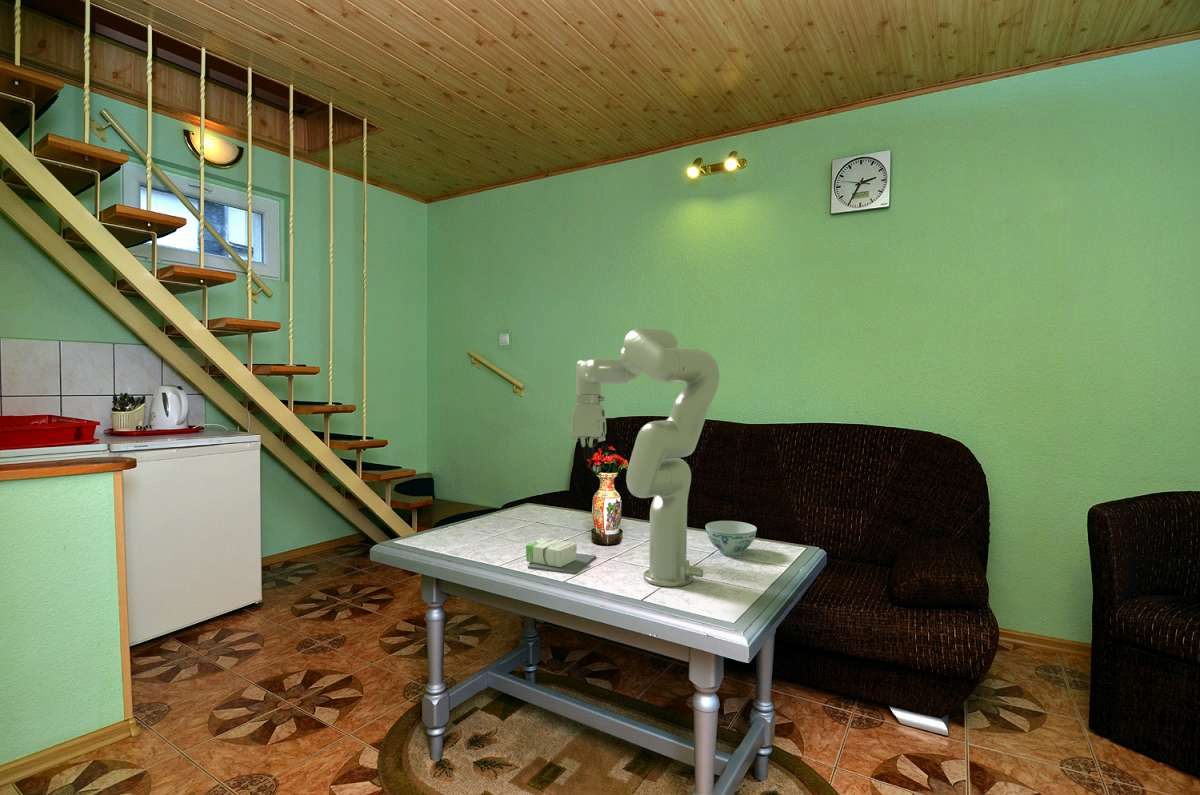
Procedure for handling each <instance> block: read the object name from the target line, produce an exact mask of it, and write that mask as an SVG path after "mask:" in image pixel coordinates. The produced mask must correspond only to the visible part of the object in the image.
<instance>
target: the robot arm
mask: <svg viewBox="0 0 1200 795" xmlns="http://www.w3.org/2000/svg"><path fill="white" fill-rule="evenodd" d="M643 373H645V374H646V375H647V376H649V377H650V378H651V379H652V380H653V381H656V382H659V383H665V384H669V383H670V384H679V383H680V384H683V383H686V386H685V387H684V388H683V389H682V390H681V392H679V394H678V395H677V397H676V398H675V400H674V402H673V406H672V408H671V411H670V414H669V416H668V418H666V419H665V420H664V419H663V420H653V421H649V422H647V423H646V424H645V425H643V426H642V427H641V428H640V430H639V431H638V433H637V436H636V439H635V442H634V446H633V449H632V451H631V456H630V459H629V462H628V467H627V471H626V475H625V477H626V478H625V482H626V486H627V489H628V491H629V492H630V493H631V495H632V496H634V497H637V498H640V499H647V498H653V499H652V501H651V504H650V509H649V569H646V570H645V571H644V572H643V579H644V580H645V581H646V582H647V583H649V584H652V585H655V586H660V587H669V588H670V587H671V588H672V587H682V586H686V585H688V584H691V582H693V577H697V578H703V577H704V569H701V567H700V566H692V565H691V564H690V560H689V559H688V560H687V556H688V554H687V550H688V549H687V541H688V540H687V539H688V538H687V537H688V536H687V535H688V534H687V533H688V532H687V530H688V528H687V526H688V523H687V522H688V501H689V500H688V499H689V494H690V493H689V492H690V487H691V482H692V472H691V468H690V466H689V464H688V463H687V462H686V461H685V460H684V459H682V458H685V457H688V456H690V455H692V454H693V453H694V452H695V450H696V447H697V444H698V442H699V439H700V436H701V434H702V430H703V428H704V424H705V422H706V418H707V414H708V411H709V409H710V407H711V404H713V403H712V402H713V400H714V398H715V396H716V393H717V391H718V387H719V385H720V370H719V366H718V364H717V361H716V359H715V358H714V357H713V356H712V355H711V354H710V353H709V352H707V351H706V350H702V349H696V348H685V347H681V348H679V347H678V340H677V338H676V336H675V335H674V334H673V333H672V332H671V331H669V330H666V329H663V328H651V327H650V328H649V327H648V328H647V327H635V328H633V329H631V330H630V331H629V332H628V333H627V334H626V335H625V337H624V339H623V345H622V348H621V350H620V358H608V357H607V358H600V357H599V358H596V357H595V358H590V359H581V360H578V361H577V363H576V373H575V374H576V377H575V379H576V382H575V385H576V387H575V388H576V389H575V390H576V393H575V394H576V395H575V396H576V397H575V401H576V402H575V404H574V406H573V411H572V415H571V435H572V436H571V440H572V441H575V442H578V443H579V444H580V445H581V446H580V447H582V457H583V459H584V461H591V460H593V459H594V456H595V447H596V445H597V444H598V443H599V442H600V443H601V442H604V441H606V434H607V420H606V412H605V410H606V409H605V407H604V404H602V402H605V401H606V397H605V396H603V395H602V391H601V390H602V389H601V388H602V385H610V384H612V385H613V384H614V385H616V384H617V385H619V384H626V383H628V382H631V381H634V380H636V379H638V378H640V377H641V375H642V374H643ZM588 438H589V439H588ZM588 459H589V460H588Z"/></svg>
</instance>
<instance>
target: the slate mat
mask: <svg viewBox="0 0 1200 795" xmlns="http://www.w3.org/2000/svg"><path fill="white" fill-rule="evenodd" d="M596 558H597V555H594V554H586V553H585V554H584V553H577V552H576V560H575V561H573V562H571V563H568V564H566V565H564V566H562V567H555V566H549V565H544V564H538V563H532V562H531V564H529V565H528V566H527V569H531V570H532V569H533V570H540V571H545V572H555V573H564V574H570V573H571V574H572V575H576V574H577V573H578V572H580V571H581V570H582V569H583V568H585V566H587V565H588V564H590V563H591V562H592V561H594V560H595V559H596Z"/></svg>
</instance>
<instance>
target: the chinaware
mask: <svg viewBox="0 0 1200 795" xmlns="http://www.w3.org/2000/svg"><path fill="white" fill-rule="evenodd" d="M757 530H758V528H757V527H756V526H755V525H753V524H750V523H747V522H743V521H735V520H717V521H711V522H708V523H706V524H705V532H706V534H707V538H708V539H709V541H710V543H711V544H712V545H713V546H714V547H715V548H717V549H718V551H719V553H720V554H722V555H725V556H734V557H735V556H740V555H742V554H743V551H744V550H746V549H747V548H749V547H750V545H751V544H752V543H753V542H754V540H755V537H756V534H757Z"/></svg>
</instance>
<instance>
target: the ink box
mask: <svg viewBox="0 0 1200 795" xmlns="http://www.w3.org/2000/svg"><path fill="white" fill-rule="evenodd" d="M577 546H578V545H577V543H576V542H575V543H574V542H568V541H563V540H562V541H561V540H555V539H550V538H543V537H542V538H540V539H538V540H535V541H534V542H531V543H528V544H526V546H525V555H526V556H525V557H526V558H525V559H526V562H529V563H531V564H532V563H538V564H544V565H549V566H555V567H562V566H564V565H566V564H568V563H571V562H573V561H575V560H576V553H577V551H578V550H577V549H578V548H577Z"/></svg>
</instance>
